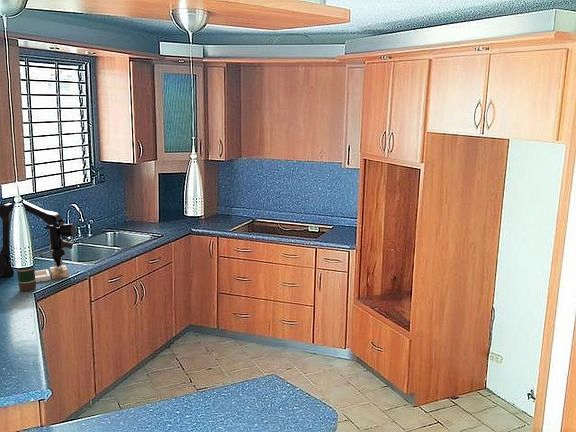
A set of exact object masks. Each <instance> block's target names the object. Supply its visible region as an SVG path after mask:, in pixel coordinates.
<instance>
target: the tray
mask: <svg viewBox="0 0 576 432" xmlns="http://www.w3.org/2000/svg"><path fill="white" fill-rule="evenodd" d="M34 271H35V280H36V283H40V281H42V282H47V281H48V280H49V281H51V279H52V277H51V273H50V272H49V271H50V270H49V269H41V270H34ZM49 281H48V282H49Z"/></svg>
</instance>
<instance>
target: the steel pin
mask: <svg viewBox="0 0 576 432" xmlns="http://www.w3.org/2000/svg"><path fill="white" fill-rule="evenodd" d="M52 260H53V266H54V267H55V266H56V270H57V269H62V265H63V258H62V257H61V262H60V266H57V264H56V262H55V260H54V258H53V259H52Z"/></svg>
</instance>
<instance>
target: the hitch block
mask: <svg viewBox="0 0 576 432" xmlns="http://www.w3.org/2000/svg"><path fill="white" fill-rule="evenodd" d="M61 266H62V269H57V270H56V266H55V265H54V266H50V267H49V271H50V272H49V274H50V278H51V279H52V280H54V279H55V278H56V279H62V277H63V278H68V277H69V269H68V266H66V264H64V265H63V264H62V265H61Z"/></svg>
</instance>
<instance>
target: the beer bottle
mask: <svg viewBox="0 0 576 432" xmlns="http://www.w3.org/2000/svg"><path fill="white" fill-rule="evenodd" d="M35 271H36V270H35V265H34V266H33V267H31V268H25V269H17V268H16V273H17V281H18V289H19V291H20V292H22V293H28V292H32V290H33V291H35V290H36V289H37V282H36V280H35Z"/></svg>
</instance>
